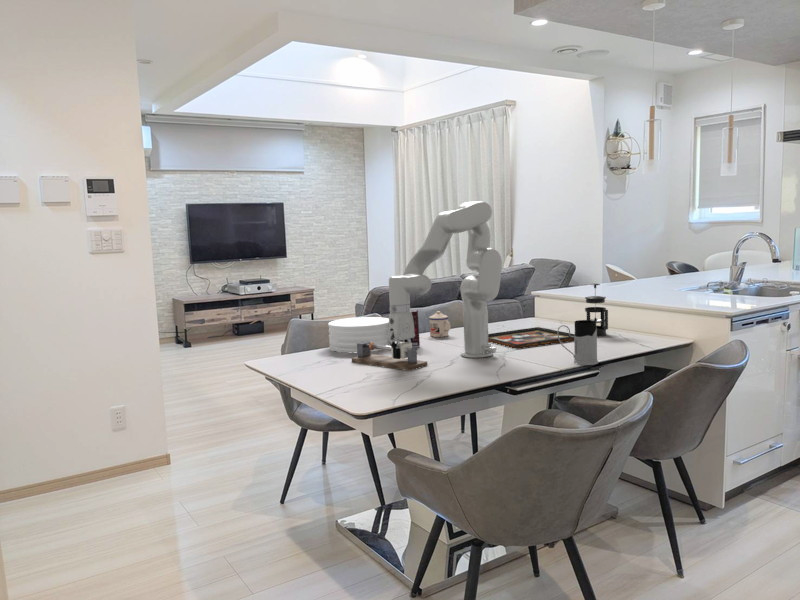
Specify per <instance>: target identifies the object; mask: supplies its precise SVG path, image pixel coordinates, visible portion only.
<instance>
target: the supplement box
mask: <svg viewBox="0 0 800 600" xmlns="http://www.w3.org/2000/svg"><path fill="white" fill-rule="evenodd" d="M410 312H412V316H413V322H414V333H415V336H414V338H413V340H412V342H411V343H412V348H416V349H417V348H418V347H419V348H420V346H421V344H420V343H421V342H420V341H421V340H420V328H419V327H420V325H419V324H420V323H419V310H418V309H415V310H414V309H413V310H412V309H410ZM400 342H403V340H402V341H400Z"/></svg>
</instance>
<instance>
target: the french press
mask: <svg viewBox="0 0 800 600" xmlns="http://www.w3.org/2000/svg"><path fill="white" fill-rule="evenodd" d="M590 286H593V288H594V295H590V296H585V297H584V299H585V303H587V304H594V306H589V307H585V308H584V312H585V313H586V320H593V321H596V324H600V325H596V327H597V337H605V336H607V330H609V310H608V309H607V308H606V307H602V306H597V304H602V303H605V301H606V298H607V297H606V296H601V295H596V291H597V286H601V284H599V283H591V284H590ZM591 313H594V318H592V319H591ZM597 313H600V319H599V318H597Z"/></svg>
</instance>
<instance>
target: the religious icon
mask: <svg viewBox="0 0 800 600" xmlns="http://www.w3.org/2000/svg"><path fill="white" fill-rule="evenodd" d="M557 331H558V330H555V329H552V328H551V329H550V328H545V327H539V326H536V327H530V328H529V327H528V328H521V329H513V330H509V331H508V330H507V331H506V330H505V331H500V332H494V333H493V332H492V333H488V341H489V343H490V342H493V343H492V344H494V343H497V344H496V345H498V344H501V345H500V346H502V345H505V346H504V347H506V346H509V347H512V348H511V349H513V348H521V349H524V348H523V347H528V348H531V347H530V346H535V347H539V346H538V345H542V346H546V345H545V344H549V345H552V344H551V343H556V344H561V343H560V341H561V342H563V343H568V342H567V341H570V342H574V337H571V336H574V335H575V333H571V332H570V335H571V336H570V335H569V332H565V331H560V330H559V332H558V333H559V339H560V341H559V339H558V334H557ZM509 347H508V348H509Z"/></svg>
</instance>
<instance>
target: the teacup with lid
mask: <svg viewBox="0 0 800 600" xmlns="http://www.w3.org/2000/svg"><path fill="white" fill-rule="evenodd" d="M428 320H429V335H430V337H432V336H433V338H445V337H448V336H449V332H450V330H451V323H450V322H449V316H448V315H446V314H443V313H442V312H441V311H440V310H438V311H436V312H435V313H434V314H432V315H430V316H429V318H428ZM444 336H445V337H444Z"/></svg>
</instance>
